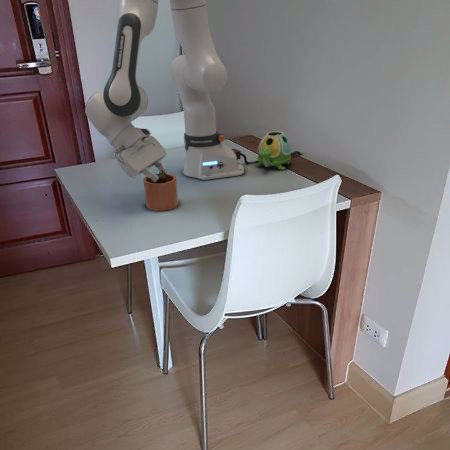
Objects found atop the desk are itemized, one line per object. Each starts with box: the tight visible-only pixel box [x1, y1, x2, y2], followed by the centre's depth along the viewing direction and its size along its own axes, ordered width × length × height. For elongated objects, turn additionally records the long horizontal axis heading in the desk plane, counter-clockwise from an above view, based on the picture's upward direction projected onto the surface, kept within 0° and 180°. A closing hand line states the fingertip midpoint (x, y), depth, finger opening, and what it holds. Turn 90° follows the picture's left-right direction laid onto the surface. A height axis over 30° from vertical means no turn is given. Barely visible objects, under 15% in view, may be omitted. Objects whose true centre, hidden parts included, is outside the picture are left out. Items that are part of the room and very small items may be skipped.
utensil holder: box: [143, 173, 179, 212], centre depth 152 cm, size 10×10×8 cm
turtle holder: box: [256, 130, 292, 171], centre depth 181 cm, size 12×18×12 cm
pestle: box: [156, 172, 166, 183], centre depth 152 cm, size 4×4×9 cm
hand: (161, 177), depth 149 cm, fingers open, 4 cm apart
